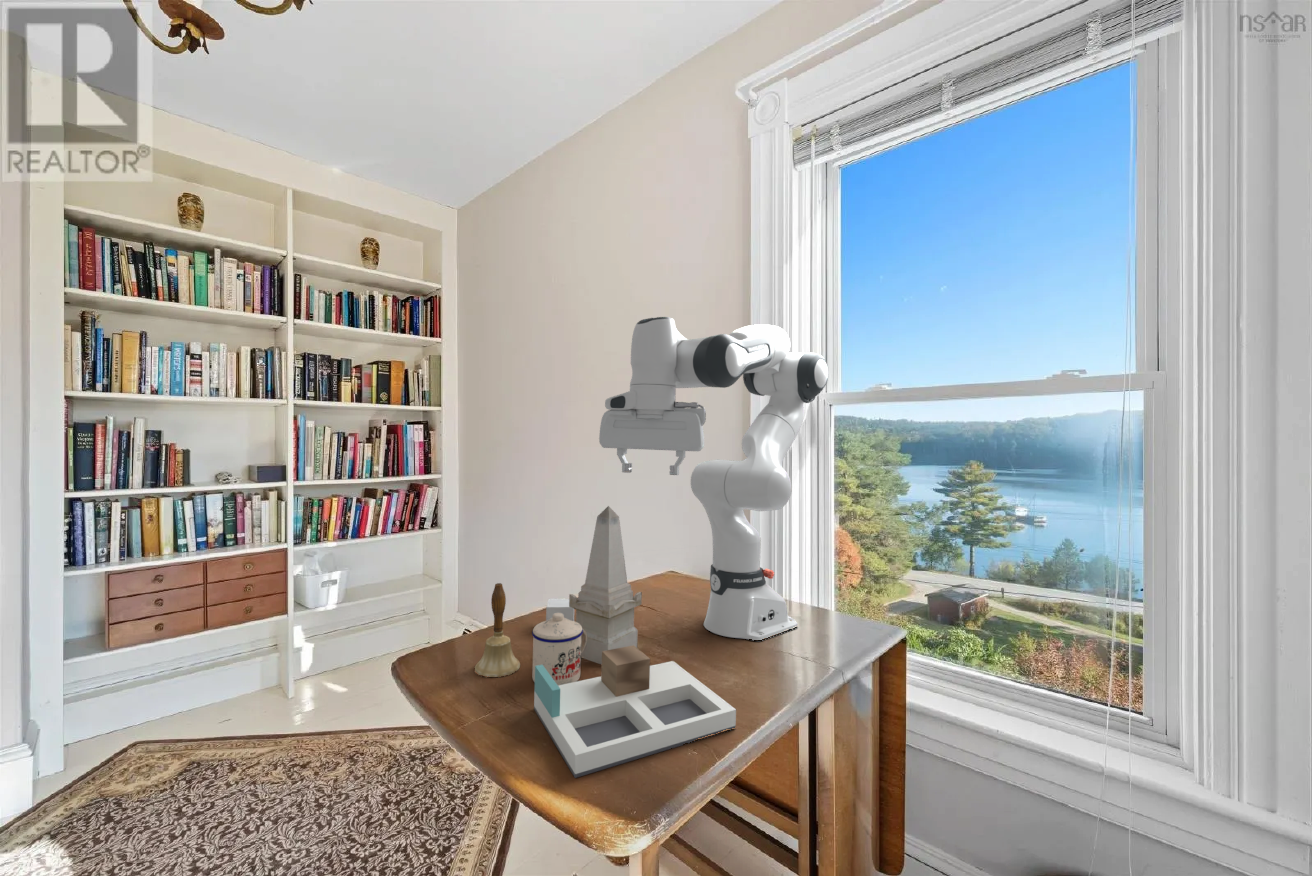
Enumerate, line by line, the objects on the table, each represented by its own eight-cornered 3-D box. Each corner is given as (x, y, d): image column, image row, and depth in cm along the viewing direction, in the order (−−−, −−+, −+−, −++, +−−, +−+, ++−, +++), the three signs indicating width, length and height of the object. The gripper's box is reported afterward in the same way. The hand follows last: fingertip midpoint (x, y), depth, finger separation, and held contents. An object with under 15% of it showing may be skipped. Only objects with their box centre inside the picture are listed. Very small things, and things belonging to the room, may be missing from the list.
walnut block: (633, 673, 92) (633, 645, 92) (649, 688, 87) (650, 658, 87) (601, 680, 89) (601, 651, 89) (615, 696, 84) (616, 665, 84)
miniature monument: (640, 650, 110) (644, 505, 109) (607, 668, 101) (612, 511, 101) (601, 638, 116) (605, 500, 115) (567, 654, 107) (571, 505, 106)
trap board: (672, 677, 98) (673, 639, 98) (735, 728, 81) (736, 683, 81) (534, 709, 86) (535, 665, 85) (574, 778, 69) (576, 724, 69)
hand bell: (515, 678, 96) (517, 590, 96) (468, 678, 95) (470, 590, 95) (523, 658, 104) (525, 577, 104) (480, 658, 104) (482, 577, 104)
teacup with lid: (555, 695, 90) (557, 627, 90) (520, 679, 96) (521, 615, 95) (602, 670, 100) (604, 609, 100) (568, 657, 105) (569, 599, 105)
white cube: (547, 624, 123) (548, 598, 123) (573, 624, 124) (574, 598, 124) (545, 634, 117) (546, 607, 117) (573, 633, 118) (573, 606, 118)
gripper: (708, 403, 102) (706, 475, 102) (608, 401, 107) (606, 470, 107) (703, 401, 96) (700, 477, 96) (597, 399, 101) (595, 472, 101)
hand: (650, 473), depth 102 cm, fingers open, 8 cm apart
